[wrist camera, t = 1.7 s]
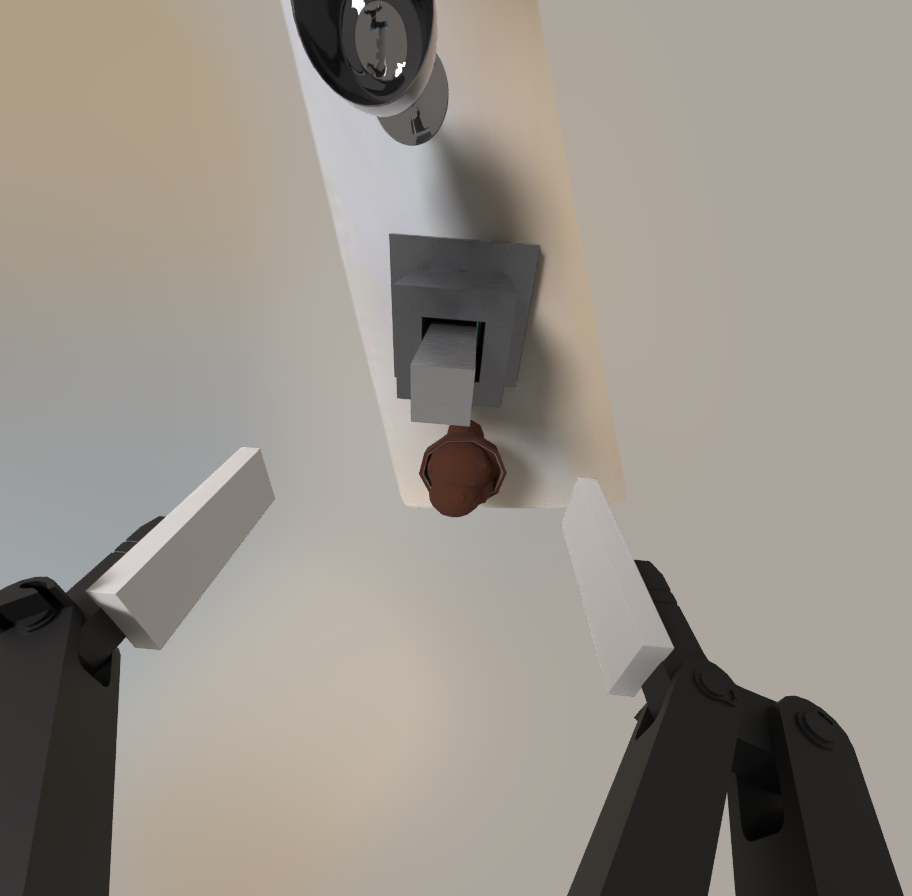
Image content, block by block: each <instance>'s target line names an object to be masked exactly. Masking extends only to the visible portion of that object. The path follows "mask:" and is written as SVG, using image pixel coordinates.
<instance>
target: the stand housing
mask: <svg viewBox="0 0 912 896" xmlns="http://www.w3.org/2000/svg"><path fill="white" fill-rule="evenodd" d="M389 240H390V267H391V293H392V320H393V346H394V372H395V377H397V398H401V399H411V369H410V365H411V363H412V361H413V359H414V357H415V355H416V353H417V351H418V349H419V347H420V345H421V343H422V341H423V339H424V337H425V335H426V333H427V331H428V329H429V327H430V325H431V323H432V321H433V319H434V318H443V319H455V320H467V321H478V330H477V340H476V364H475V378H474V388H473V398H472V405H482V406H494V407H501V402H502V395H503V389H504V386H509V387H516V382H517V376H518V371H519V365H520V359H521V353H522V348H523V342H524V336H525V331H526V325H527V319H528V313H529V308H530V302H531V296H532V290H533V285H534V279H535V273H536V267H537V262H538V256H539V250H540V245H533V244H520V243H508V242H495V241H482V240H469V239H457V238H444V237H431V236H418V235H406V234H393V233H392V234H389Z"/></svg>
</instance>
